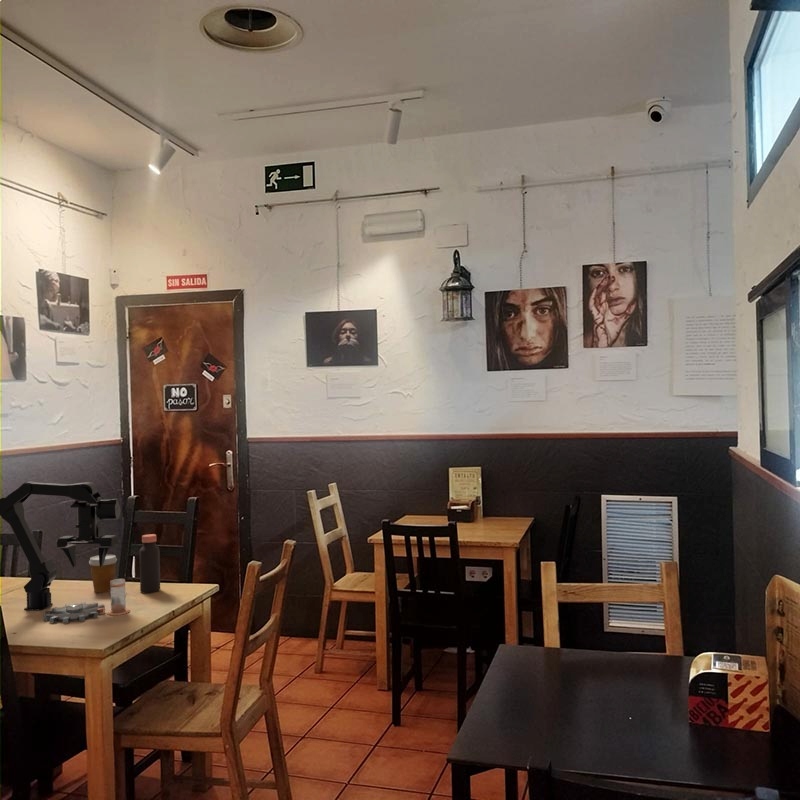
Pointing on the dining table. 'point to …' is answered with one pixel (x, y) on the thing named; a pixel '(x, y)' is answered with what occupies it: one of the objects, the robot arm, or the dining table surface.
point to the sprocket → (74, 612)
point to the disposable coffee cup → (102, 572)
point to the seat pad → (118, 613)
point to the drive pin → (118, 596)
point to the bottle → (149, 565)
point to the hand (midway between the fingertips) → (87, 566)
